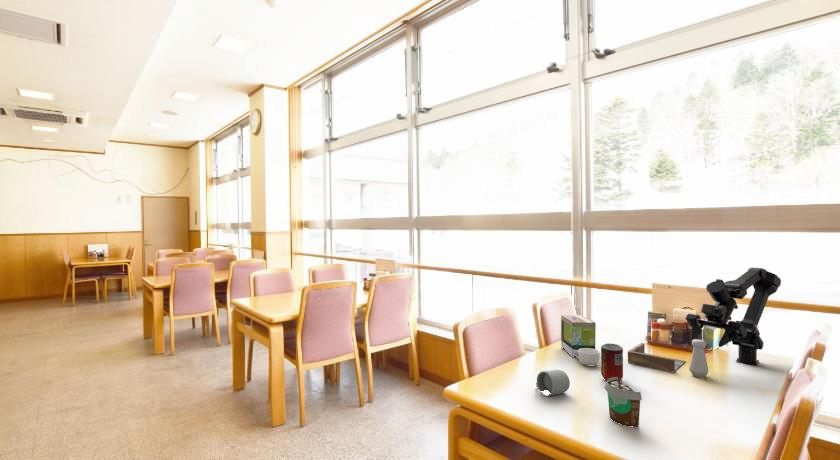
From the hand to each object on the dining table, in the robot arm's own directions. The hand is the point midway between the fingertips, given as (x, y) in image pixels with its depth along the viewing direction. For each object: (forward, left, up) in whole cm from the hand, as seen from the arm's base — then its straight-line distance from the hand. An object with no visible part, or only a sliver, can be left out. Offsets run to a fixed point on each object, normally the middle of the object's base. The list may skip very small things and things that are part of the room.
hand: (705, 343), depth 155 cm
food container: (+59, -9, -11) cm, 61 cm away
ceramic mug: (+54, -33, -12) cm, 64 cm away
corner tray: (-3, -16, -11) cm, 20 cm away
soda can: (+29, -22, -11) cm, 38 cm away
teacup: (+18, -36, -12) cm, 42 cm away
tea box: (+6, -45, -12) cm, 47 cm away
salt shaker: (+4, -1, -11) cm, 12 cm away
